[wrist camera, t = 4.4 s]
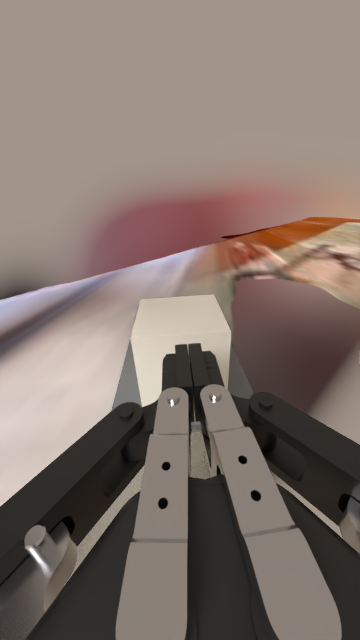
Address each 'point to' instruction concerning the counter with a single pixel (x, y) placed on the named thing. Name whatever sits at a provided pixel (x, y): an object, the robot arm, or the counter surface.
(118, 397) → the rubber mat
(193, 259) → the counter surface
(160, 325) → the off-white cube
